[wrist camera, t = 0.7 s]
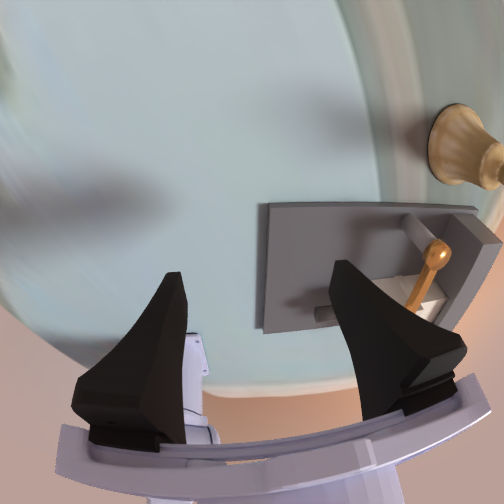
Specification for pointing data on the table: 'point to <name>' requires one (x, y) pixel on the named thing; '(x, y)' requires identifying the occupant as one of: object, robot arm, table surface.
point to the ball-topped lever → (428, 271)
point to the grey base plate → (368, 254)
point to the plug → (399, 298)
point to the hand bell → (465, 150)
